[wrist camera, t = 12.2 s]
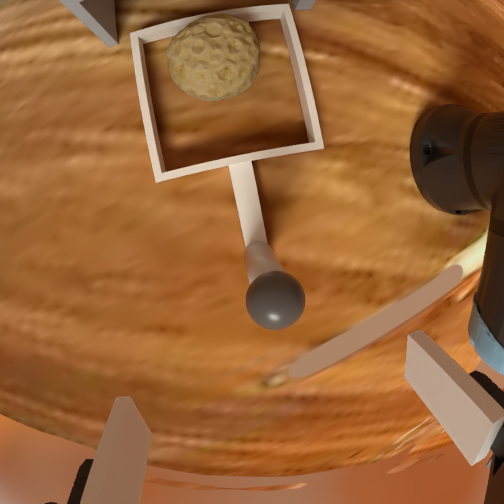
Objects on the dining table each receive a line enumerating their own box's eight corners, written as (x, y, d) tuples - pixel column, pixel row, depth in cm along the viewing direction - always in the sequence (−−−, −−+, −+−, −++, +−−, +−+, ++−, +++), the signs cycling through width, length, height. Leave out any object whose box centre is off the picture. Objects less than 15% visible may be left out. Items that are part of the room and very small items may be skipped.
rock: (264, 69, 34) (283, 7, 24) (237, 133, 31) (254, 62, 21) (192, 51, 33) (196, -12, 24) (152, 110, 30) (144, 39, 20)
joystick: (135, 40, 28) (87, -23, 13) (284, 13, 28) (319, -62, 13) (187, 285, 36) (166, 362, 21) (333, 254, 36) (395, 309, 22)
